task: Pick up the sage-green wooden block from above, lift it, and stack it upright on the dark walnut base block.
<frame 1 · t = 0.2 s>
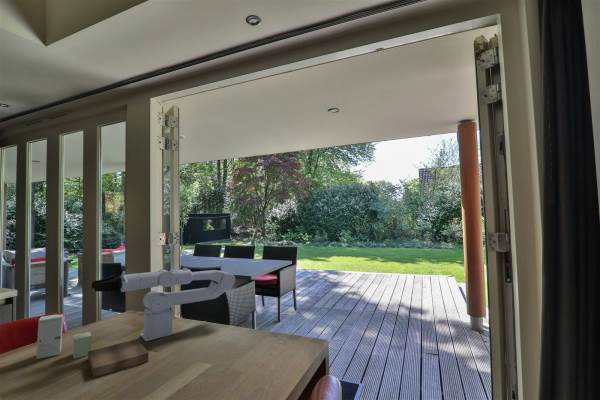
hand: (93, 286, 100), 21 cm above the table, tool horizontal, fingers open, 7 cm apart
sage block: (82, 354, 97), on the table
skincare box: (49, 355, 97), on the table
walnut base: (117, 360, 93), on the table
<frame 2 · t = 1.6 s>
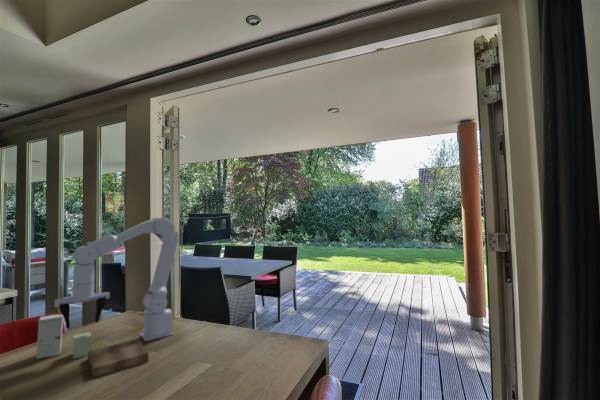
hand: (82, 324, 98), 9 cm above the table, tool pointing down, fingers open, 7 cm apart
nothing on the table moved.
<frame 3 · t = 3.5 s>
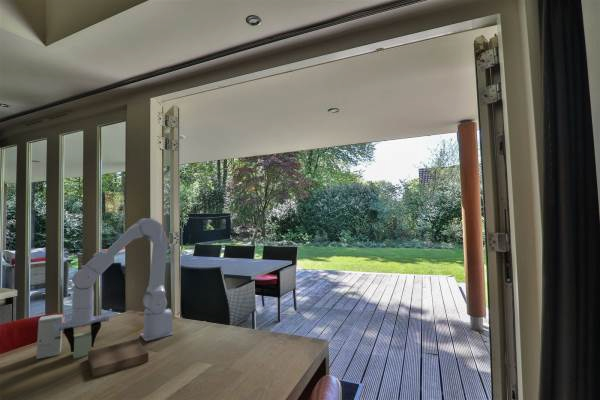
hand: (82, 348, 97), 2 cm above the table, tool pointing down, fingers closed on sage block, 4 cm apart
sage block: (82, 354, 97), on the table, touching gripper
everything else where it was.
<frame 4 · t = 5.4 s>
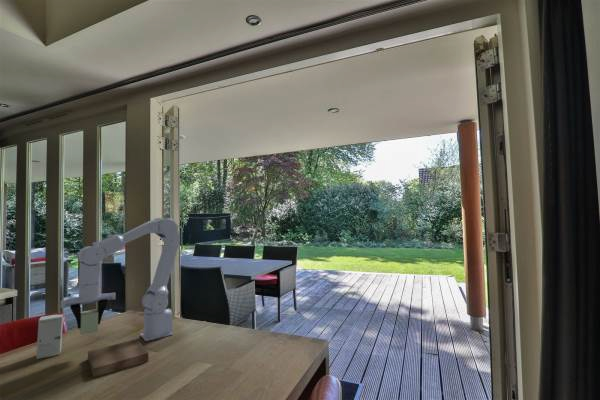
hand: (88, 325, 97), 9 cm above the table, tool pointing down, fingers closed on sage block, 4 cm apart
sage block: (88, 331, 97), point 8 cm above the table, touching gripper
everything else where it was.
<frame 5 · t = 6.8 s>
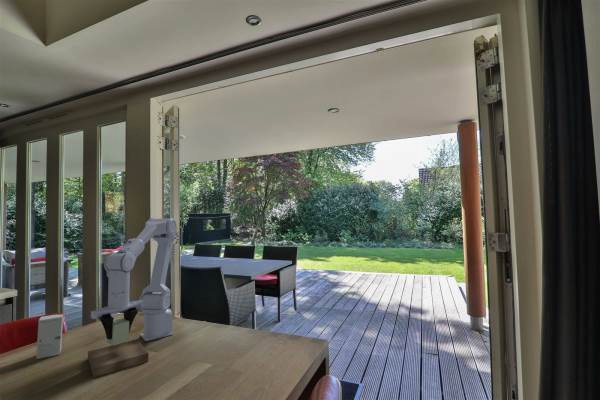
hand: (118, 335, 93), 8 cm above the table, tool pointing down, fingers closed on sage block, 4 cm apart
sage block: (117, 341, 93), point 6 cm above the table, touching gripper
everything else where it was.
when the fingers open (6 cm above the table, at t = 7.6 s): sage block drops 1 cm, resting on walnut base.
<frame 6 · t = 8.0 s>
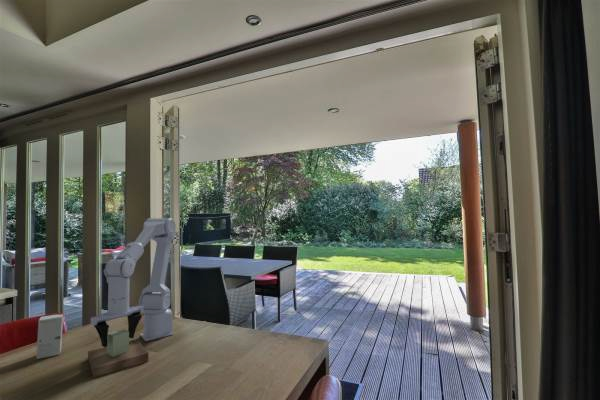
hand: (118, 341, 93), 6 cm above the table, tool pointing down, fingers open, 7 cm apart
sage block: (117, 352, 93), point 2 cm above the table, touching walnut base
everything else where it was.
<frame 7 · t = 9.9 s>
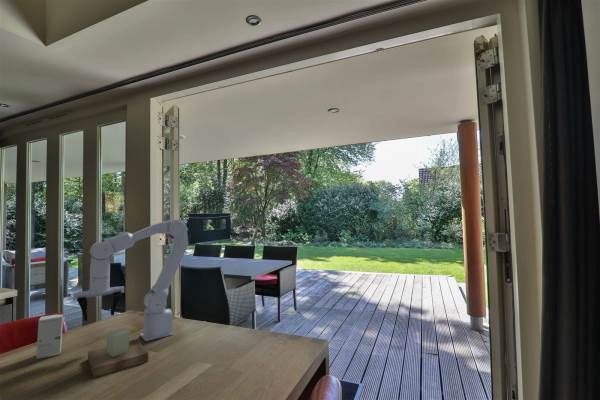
hand: (99, 317, 102), 10 cm above the table, tool pointing down, fingers open, 7 cm apart
nothing on the table moved.
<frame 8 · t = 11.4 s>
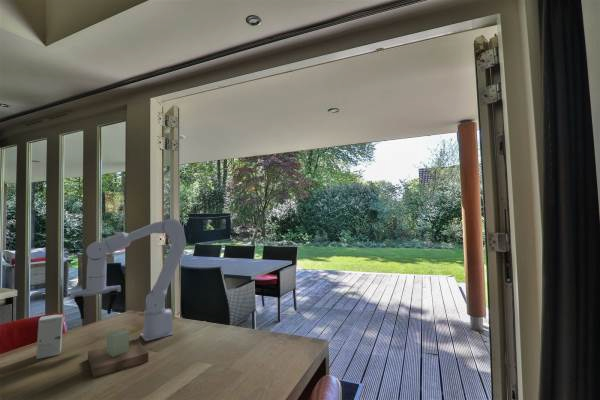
hand: (95, 315, 104), 10 cm above the table, tool pointing down, fingers open, 7 cm apart
nothing on the table moved.
at the end: sage block inside the target area on the walnut base (0.1 cm from its centre), point 2.5 cm above the walnut base's base; sage block tilted 0°; the gripper is holding nothing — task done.
